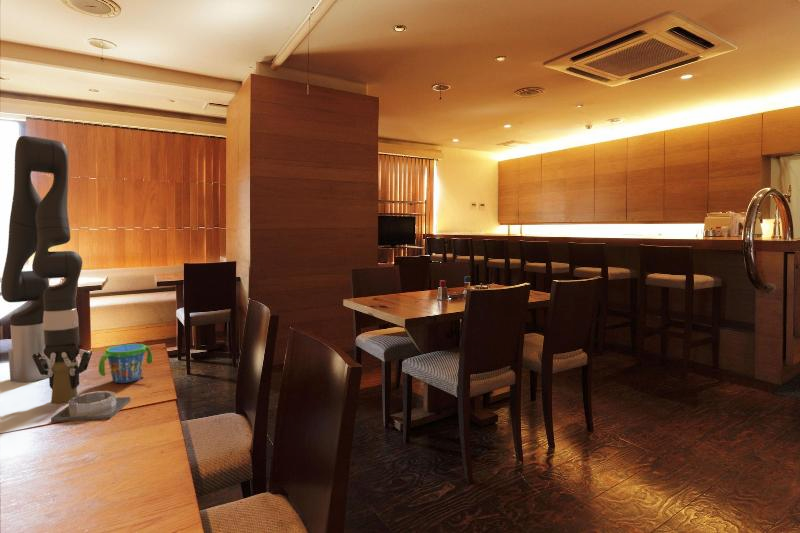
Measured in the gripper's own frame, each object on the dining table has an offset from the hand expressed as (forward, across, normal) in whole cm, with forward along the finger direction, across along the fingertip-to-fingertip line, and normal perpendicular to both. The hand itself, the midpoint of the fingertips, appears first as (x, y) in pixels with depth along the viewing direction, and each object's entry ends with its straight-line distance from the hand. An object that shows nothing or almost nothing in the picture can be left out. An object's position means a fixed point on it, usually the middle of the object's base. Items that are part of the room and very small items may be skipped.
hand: (64, 388), depth 123 cm
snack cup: (+4, -10, -16) cm, 19 cm away
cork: (+3, 0, 0) cm, 3 cm away
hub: (+3, -11, +9) cm, 14 cm away
